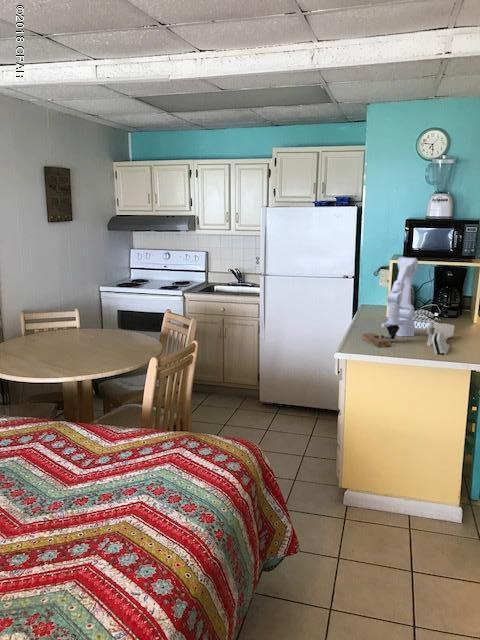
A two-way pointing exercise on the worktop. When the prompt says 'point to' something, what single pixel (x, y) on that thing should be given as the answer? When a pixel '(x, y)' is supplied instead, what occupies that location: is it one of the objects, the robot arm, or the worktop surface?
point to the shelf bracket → (439, 331)
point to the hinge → (440, 344)
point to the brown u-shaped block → (376, 340)
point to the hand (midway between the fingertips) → (392, 339)
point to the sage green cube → (386, 336)
